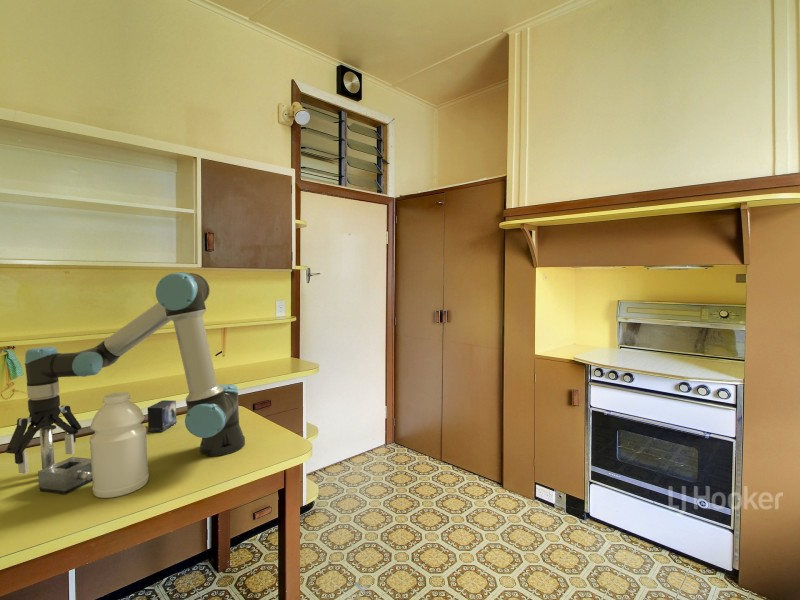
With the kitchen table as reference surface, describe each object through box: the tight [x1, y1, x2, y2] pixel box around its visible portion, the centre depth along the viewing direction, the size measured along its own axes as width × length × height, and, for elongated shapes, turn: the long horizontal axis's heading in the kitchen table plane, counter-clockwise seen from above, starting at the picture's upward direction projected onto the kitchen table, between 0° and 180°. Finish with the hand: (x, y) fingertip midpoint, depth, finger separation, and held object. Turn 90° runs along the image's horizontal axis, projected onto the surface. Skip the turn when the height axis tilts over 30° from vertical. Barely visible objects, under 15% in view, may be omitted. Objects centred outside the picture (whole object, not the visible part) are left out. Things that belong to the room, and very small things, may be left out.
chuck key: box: [39, 424, 57, 470], centre depth 127 cm, size 7×3×17 cm, turn 77°
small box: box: [147, 399, 178, 433], centre depth 170 cm, size 11×6×10 cm, turn 179°
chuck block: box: [37, 456, 93, 495], centre depth 123 cm, size 12×10×6 cm
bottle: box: [89, 391, 150, 499], centre depth 120 cm, size 14×14×28 cm
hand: (48, 462), depth 127 cm, fingers open, 13 cm apart
